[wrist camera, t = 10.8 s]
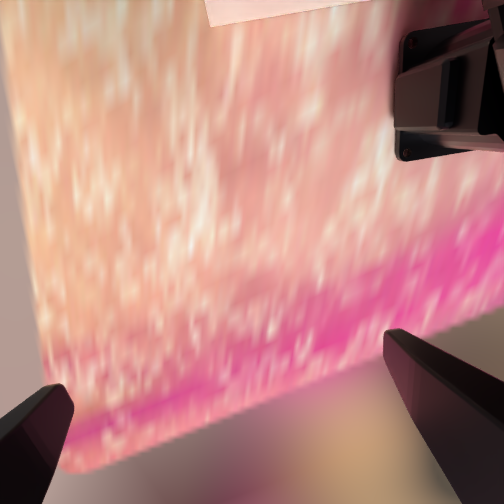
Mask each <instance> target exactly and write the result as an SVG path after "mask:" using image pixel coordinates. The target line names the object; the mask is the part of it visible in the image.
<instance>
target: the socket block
mask: <svg viewBox="0 0 504 504" xmlns="http://www.w3.org/2000/svg"><path fill="white" fill-rule="evenodd" d="M204 1H205V5H206V10H207V14H208V19H209V23H210V27H215V26H221V25H227V24H233V23H239V22H245V21H251V20H257V19H263V18H268V17H274V16H280V15H286V14H292V13H298V12H304V11H310V10H316V9H321V8H327V7H333V6H339V5H345V4H351V3H357V2H363V1H369V0H204Z"/></svg>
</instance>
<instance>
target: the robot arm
mask: <svg viewBox="0 0 504 504" xmlns="http://www.w3.org/2000/svg"><path fill="white" fill-rule="evenodd" d="M482 4H483V8H484V11H485V10H488V14H489V19H483V20H477V21H471V22H465V23H459V24H453V25H447V26H441V27H435V28H430V29H424V30H418V31H413V32H410V33H408V34H407V35H405V36H404V37H403V38H402V40H401V42H400V46H399V71H398V77H397V78H396V80H395V103H394V128H395V129H396V158H397V159H398V160H400V161H406V162H407V161H413V160H419V159H425V158H431V157H437V156H443V155H449V154H455V153H461V152H467V151H473V150H482V151H495V152H504V0H482ZM410 39H411V40H412V41H413V47H412V48H409V46H408V41H409V40H410ZM405 149H407V150H408V153H407V155H406V156H403V152H404V150H405ZM383 357H384V360H385V363H386V365H387V367H388V370H389V372H390V374H391V376H392V378H393V380H394V382H395V385H396V387H397V389H398V391H399V393H400V395H401V397H402V400H403V401H404V404H405V406H406V408H407V410H408V412H409V414H410V416H411V418H412V420H413V422H414V423H415V425H416V427H417V428H418V430H419V432H420V434H421V435H422V437H423V439H424V440H425V442H426V444H427V445H428V447H429V449H430V450H431V452H432V454H433V456H434V457H435V459H436V461H437V462H438V464H439V466H440V467H441V469H442V471H443V472H444V474H445V476H446V477H447V479H448V481H449V482H450V484H451V486H452V487H453V489H454V491H455V493H456V494H457V496H458V498H459V499H460V501H461V503H462V504H504V382H503V381H502V380H500V379H498V378H496V377H494V376H492V375H490V374H488V373H486V372H484V371H482V370H480V369H478V368H476V367H474V366H472V365H471V364H468V363H467V362H465V361H463V360H461V359H459V358H457V357H455V356H453V355H451V354H449V353H447V352H445V351H443V350H442V349H439V348H438V347H435V346H434V345H432V344H430V343H428V342H426V341H424V340H422V339H420V338H418V337H416V336H414V335H412V334H410V333H409V332H407V331H405V330H403V329H400V328H397V329H390V330H386V331H385V332H384V337H383ZM73 414H74V403H73V401H72V399H71V398H70V396H69V394H68V392H67V390H66V389H65V387H64V385H62V384H59V383H58V384H52V385H47V386H44V387H42V388H41V389H40V390H39V391H37V392H36V393H34V394H33V395H31V396H30V397H29V398H27V399H26V400H25V401H23V402H22V403H21V404H19V405H18V406H17V407H15V408H14V409H13V410H11V411H10V412H8V413H7V414H6V415H5V416H3V417H2V418H1V419H0V504H42V502H43V500H44V497H45V495H46V493H47V490H48V488H49V485H50V483H51V480H52V477H53V475H54V473H55V470H56V467H57V464H58V461H59V458H60V455H61V451H62V448H63V445H64V442H65V439H66V436H67V433H68V430H69V426H70V423H71V420H72V417H73Z"/></svg>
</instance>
